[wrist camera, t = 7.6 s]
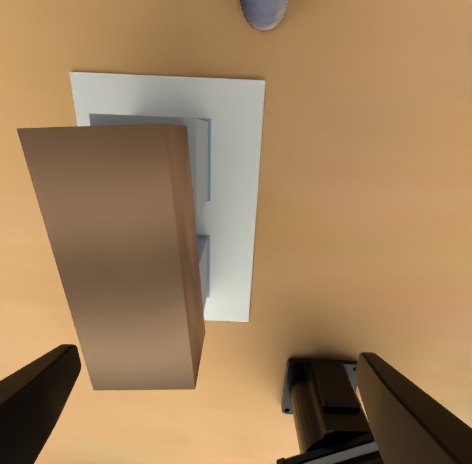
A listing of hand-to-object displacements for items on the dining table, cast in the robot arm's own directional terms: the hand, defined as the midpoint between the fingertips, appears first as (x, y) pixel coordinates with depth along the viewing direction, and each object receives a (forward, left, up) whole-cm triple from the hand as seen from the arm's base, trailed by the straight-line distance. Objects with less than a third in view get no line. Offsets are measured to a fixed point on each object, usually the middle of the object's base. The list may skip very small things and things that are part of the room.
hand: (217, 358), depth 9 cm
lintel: (+1, +4, -7) cm, 8 cm away
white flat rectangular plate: (+1, +4, -12) cm, 13 cm away
